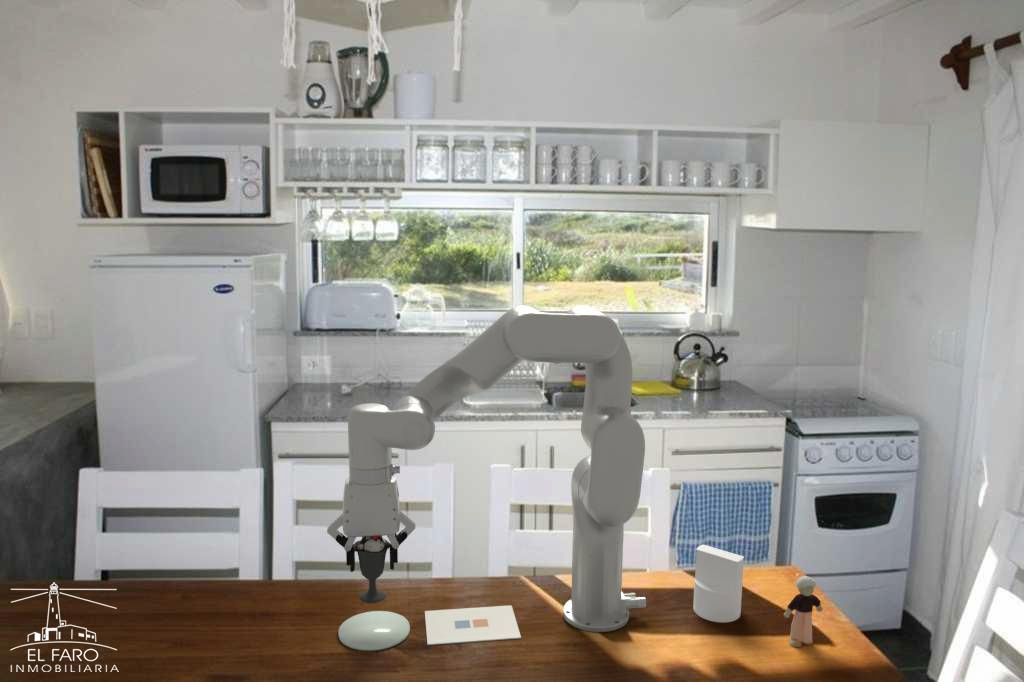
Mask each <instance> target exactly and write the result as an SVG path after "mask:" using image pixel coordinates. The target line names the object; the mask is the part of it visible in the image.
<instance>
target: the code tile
mask: <svg viewBox="0 0 1024 682" xmlns="http://www.w3.org/2000/svg"><path fill="white" fill-rule="evenodd" d="M424 619H425V629H426V630H425V631H426V641H427V642H426V643H427V646H433V645H434V646H435V645H445V644H450V645H451V644H460V643H461V644H463V643H474V642H476V643H477V642H490V641H501V640H502V641H503V640H504V641H505V640H516V639H518V640H519V639H522V636H521V633H520V629H519V625H518V621H517V619H516V616H515V612H514V608H513V606H512V605H498V606H497V605H496V606H495V605H494V606H481V607H467V608H463V607H462V608H453V609H451V608H449V609H437V610H424Z"/></svg>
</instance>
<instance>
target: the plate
mask: <svg viewBox="0 0 1024 682" xmlns="http://www.w3.org/2000/svg"><path fill="white" fill-rule="evenodd" d="M410 631H411V625H410V622H409V621H408V619H407V618H406V617H405V616H403V615H402V614H399V613H396V612H394V611H386V610H372V611H366V612H363V613H362V612H361V613H358V614H355V615H353V616H351V617H349V618H348V619H346V620H345V621H344V622H342V624H340V626H339V628H338V639H339V642H341V643H342V644H343V645H344V646H346V647H347V648H350V649H354V650H357V651H363V652H364V651H365V652H367V651H368V652H369V651H371V652H373V651H381V650H385V649H386V650H387V649H389V648H391V647H394V646H397V645H399V644H400V643H402V642H403V641H404V640H406V638H407V637H408V636H409V634H410Z"/></svg>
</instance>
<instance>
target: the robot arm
mask: <svg viewBox="0 0 1024 682" xmlns="http://www.w3.org/2000/svg"><path fill="white" fill-rule="evenodd" d="M523 361H527V362H531V363H532V362H533V363H552V364H555V363H556V364H584V369H585V385H584V386H585V388H584V399H583V406H582V407H583V409H582V418H581V424H580V433H581V437H582V439H583V440H584V443H585V444H586V445H587V447H588V448H589V449H590V455H588V456H586V457H584V458H582V459H581V460H579V462H578V463H577V464H576V466H575V467H574V469H573V471H572V475H571V482H570V490H571V491H570V492H571V494H570V495H571V504H572V505H571V506H572V552H571V553H572V557H571V559H572V560H571V566H572V567H571V598H570V599H569V600H568V601H566V603H565V604H564V605H563V607H562V615H563V618H564V620H565V621H566V622H567V623H568V624H569V625H571V626H573V627H574V628H577V629H579V630H582V631H586V632H587V631H588V632H593V633H607V632H613V631H617V630H619V629H621V628H623V627H624V626H625V625H626V624H627V623H628V622H629V618H630V612H629V611H630V610H631V609H635V608H636V609H640V608H646V607H647V599H646V597H645V596H639V597H638V596H637V595H636V593H635V592H628V593H624V592H623V591H622V585H623V584H622V583H623V560H624V559H623V556H624V531H625V529H624V524H625V523H627V522H629V520H631V519H632V517H633V516H634V514H636V512H637V508H638V507H639V503H640V498H641V490H642V482H643V476H644V475H643V474H644V466H645V465H644V463H645V458H646V457H645V456H646V455H645V454H646V438H645V434H644V430H643V428H642V426H641V424H640V423H639V421H638V420H637V419H636V418H635V417H634V416H633V415H632V412H631V411H632V406H631V405H632V389H633V362H632V357H631V353H630V350H629V346H628V344H627V342H626V339H625V337H624V336H623V334H622V332H621V330H620V328H619V326H618V325H617V322H616V321H615V320H613V319H612V318H611V317H610V316H609V315H607V314H605V313H604V312H601V311H600V310H599V309H597V308H594V307H592V306H590V305H577V306H574V307H573V306H572V308H570V309H569V310H568V311H567V312H566V313H554V312H553V313H552V312H551V313H550V312H541V311H539V310H538V309H536V308H535V307H532V306H529V305H522V304H520V305H517V306H515V307H513V308H510V309H508V310H507V311H506V312H505V313H503V314H502V316H500V317H498V319H496V320H495V322H492V324H491V325H490V326H489V327H487V328H486V329H485V330H484V331H483V332H482V333H480V335H478V336H477V337H476V338H475V339H473V341H472V342H470V343H468V345H467V346H466V347H464V348H463V349H462V350H460V351H459V352H458V353H457V354H456V355H454V356H453V357H451V358H450V359H448V360H447V361H446V362H444V363H443V364H441V365H440V366H439V367H437V368H435V369H434V370H432V371H431V372H430V373H429V374H427V375H426V376H425V377H423V379H421V380H420V381H419V382H418V383H416V384H415V385H414V386H413V387H412V388H411V389H409V390H408V391H407V392H406V393H405V394H404V395H403V396H402V397H401V398H400V399H399V400H397V402H396V403H395V405H394V406H393V409H392V410H390V408H388V406H386V405H384V404H381V403H373V402H372V403H370V402H369V403H362V404H361V403H360V404H357V405H354V406H353V407H351V408H350V410H348V412H347V413H348V414H347V434H348V436H347V437H348V439H347V440H348V472H349V473H348V476H349V477H348V478H346V479H345V482H344V487H343V497H342V513H340V514H341V515H339V516H338V517H337V518H336V519H335V520H334V521H333V522H332V523H331V524H330V525H328V527H327V530H326V532H327V534H328V535H330V536H331V538H333V539H334V540H335V542H337V543H338V544H339V545H340V546H341V547H343V549H344V551H345V553H346V555H345V557H346V559H345V560H346V561H345V563H346V566H350V567H349V568H350V569H349V570H350V573H353V572H355V569H356V552H355V551H354V549H353V545H354V543H355V542H356V539H357V538H359V537H361V538H362V537H366V536H382V537H383V536H386V537H387V538H388V542H389V543H390V548H389V569H390V570H391V571H393V570H395V564H398V562H399V561H398V560H399V556H398V554H399V553H398V549H399V548H400V546H401V544H403V543H404V542H405V540H406V539H407V538H408V537H409V536H410V535H411V533H412V532H414V531H415V530H416V527H417V526H416V522H415V521H414V520H412V519H411V518H409V517H408V516H407V515H405V514H404V513H403V512H402V511H401V508H400V505H401V504H400V493H399V485H398V482H397V477H395V476H394V475H396V474H401V471H400V470H401V467H400V466H401V465H396V464H395V465H394V464H393V457H392V449H399V450H407V451H416V450H417V451H418V450H422V449H424V448H426V447H427V446H429V444H431V443H432V441H433V440H434V438H435V437H434V436H435V433H436V423H435V421H436V420H437V419H438V418H439V417H440V416H441V415H443V413H445V412H446V411H447V410H448V409H450V407H452V406H453V405H455V404H456V403H457V402H459V401H461V400H462V399H465V398H467V397H470V396H474V395H479V394H480V395H481V394H482V393H483V394H484V393H485V392H488V391H490V390H491V389H492V388H494V387H495V386H496V385H497V384H498V383H499V382H500V381H501V380H503V378H504V377H505V376H507V375H508V374H509V373H510V372H511V371H513V370H514V369H515V368H516V367H518V365H519V364H521V363H522V362H523ZM401 524H402V525H403V526H405V527H404V528H403V529H402V530H401V531H400V525H401ZM340 527H342V531H343V533H342V532H340V531H339V530H338V529H339V528H340ZM398 532H399V533H398Z"/></svg>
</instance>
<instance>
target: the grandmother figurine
mask: <svg viewBox="0 0 1024 682" xmlns="http://www.w3.org/2000/svg"><path fill="white" fill-rule="evenodd" d="M795 582H796V583H795V584H796V588H797V589H798V592H799V594H796V595H795V596H794V597H793V598H792V600H791V601H790V602H789V604H788V605H787V607H786V609H785V612H784V613H783V617H784V618H787V619H788V618H790V615H791V614H792V612H793V611H794V615H793V619H792V621H791V625H790V634H789V638H788V640H787V641H788V643H789V645H790V646H792V647H795V648H799V647H801V646H802V645H803V644H804V645H808V646H811V645H813V643H814V642H813V622H812V621H813V617H812V616H813V609H814V608H813V607H815V608H816V611H817V612H819V613H821V612H823V607H822V604H821V600H820V598H818V597H817V596H816V595H815V594H813V593H814V591H815V590H814V589H816V587H817V584H816V581H815V579H813V578H812V577H810V576H807V575H803V576H801V577H798V579H797V580H796V581H795Z"/></svg>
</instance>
